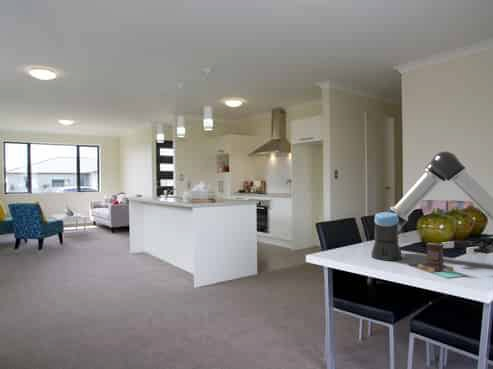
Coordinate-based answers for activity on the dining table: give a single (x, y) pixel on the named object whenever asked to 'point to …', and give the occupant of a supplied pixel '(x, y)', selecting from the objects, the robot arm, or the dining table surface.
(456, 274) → the pad
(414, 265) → the trap track
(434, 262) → the box
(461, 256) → the dining table surface
